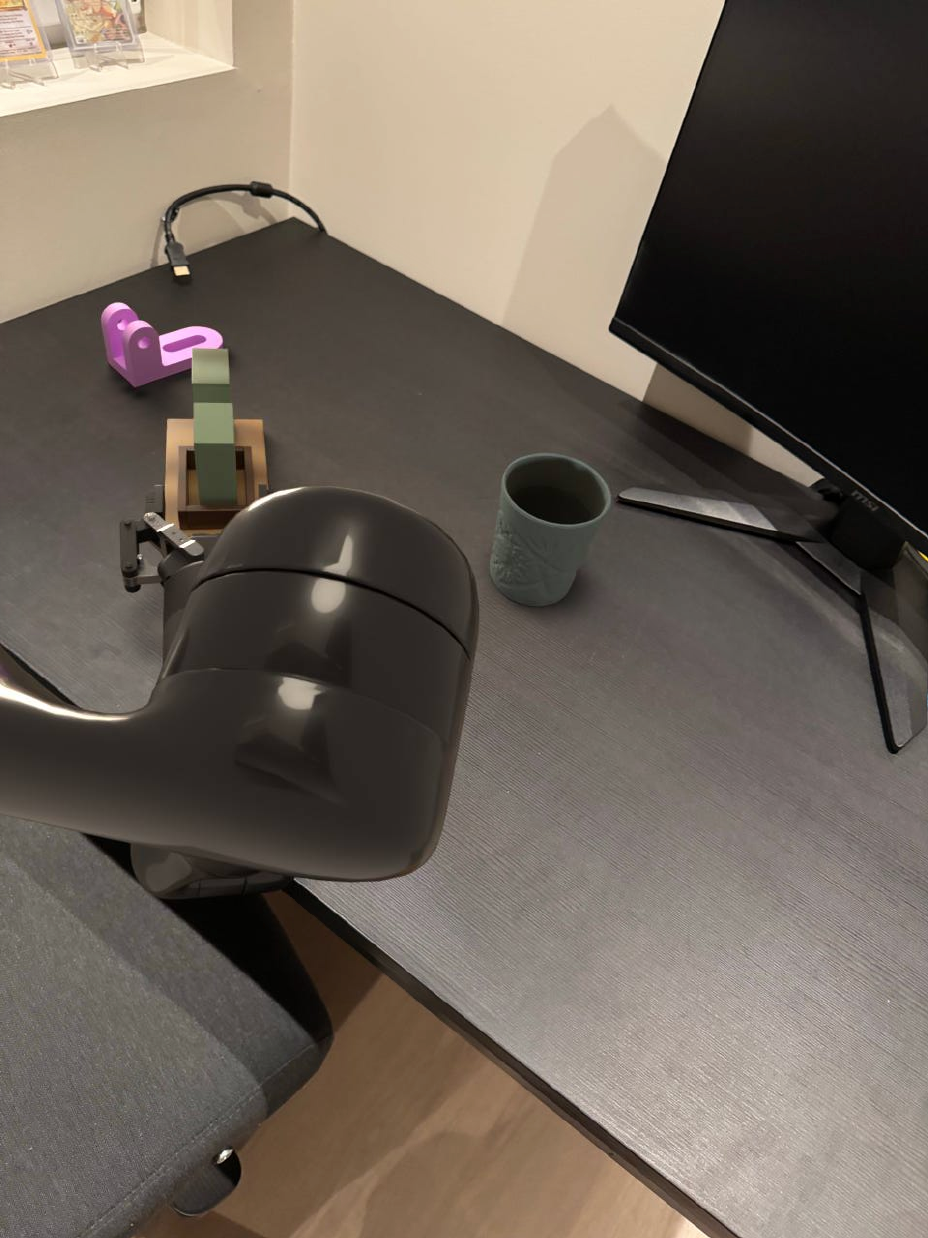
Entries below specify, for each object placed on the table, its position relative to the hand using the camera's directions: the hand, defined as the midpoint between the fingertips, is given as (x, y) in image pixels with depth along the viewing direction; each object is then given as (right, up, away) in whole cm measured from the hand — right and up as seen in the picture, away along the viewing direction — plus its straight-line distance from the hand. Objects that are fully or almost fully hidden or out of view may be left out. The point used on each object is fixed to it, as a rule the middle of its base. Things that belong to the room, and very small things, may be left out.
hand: (211, 491), depth 73 cm
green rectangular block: (-3, +1, +11) cm, 11 cm away
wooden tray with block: (-4, +3, +14) cm, 15 cm away
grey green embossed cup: (+29, -7, +13) cm, 32 cm away
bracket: (-13, +20, +27) cm, 36 cm away
